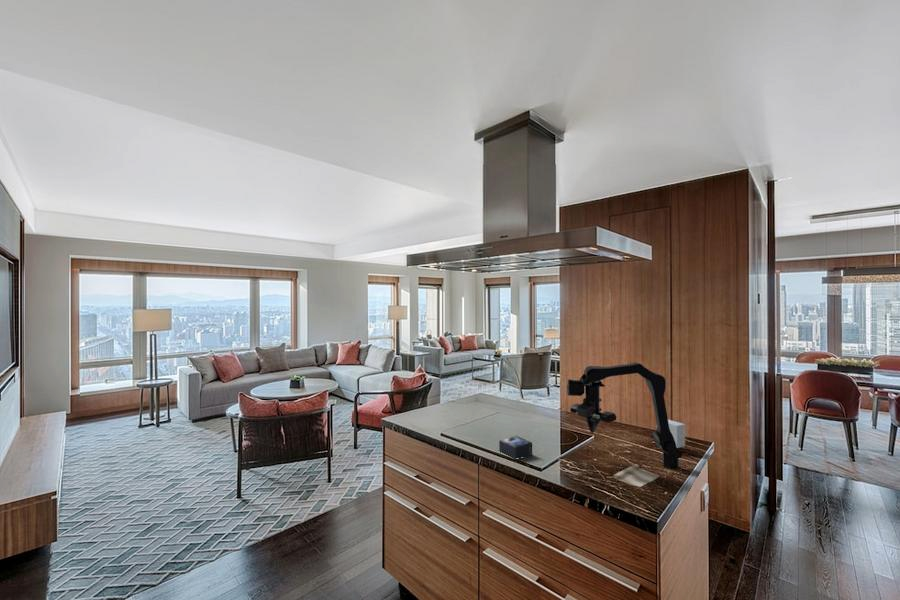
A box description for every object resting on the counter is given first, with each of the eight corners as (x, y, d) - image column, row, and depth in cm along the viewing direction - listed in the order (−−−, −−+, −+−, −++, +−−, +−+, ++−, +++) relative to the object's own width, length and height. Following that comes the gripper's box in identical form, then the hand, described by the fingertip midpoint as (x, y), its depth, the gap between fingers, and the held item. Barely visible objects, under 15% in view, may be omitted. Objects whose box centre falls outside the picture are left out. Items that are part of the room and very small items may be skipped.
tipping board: (635, 467, 154) (635, 464, 154) (659, 476, 146) (659, 472, 146) (613, 478, 145) (613, 474, 145) (638, 489, 137) (638, 484, 137)
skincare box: (685, 446, 176) (685, 423, 176) (677, 448, 173) (677, 425, 173) (664, 438, 186) (664, 417, 186) (655, 441, 183) (655, 419, 183)
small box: (532, 441, 165) (515, 447, 160) (533, 456, 165) (515, 462, 160) (515, 434, 174) (498, 439, 168) (516, 448, 174) (499, 454, 168)
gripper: (562, 394, 164) (562, 430, 164) (601, 404, 148) (601, 443, 149) (577, 390, 170) (578, 425, 170) (616, 399, 155) (617, 437, 155)
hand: (592, 432), depth 161 cm, fingers closed
